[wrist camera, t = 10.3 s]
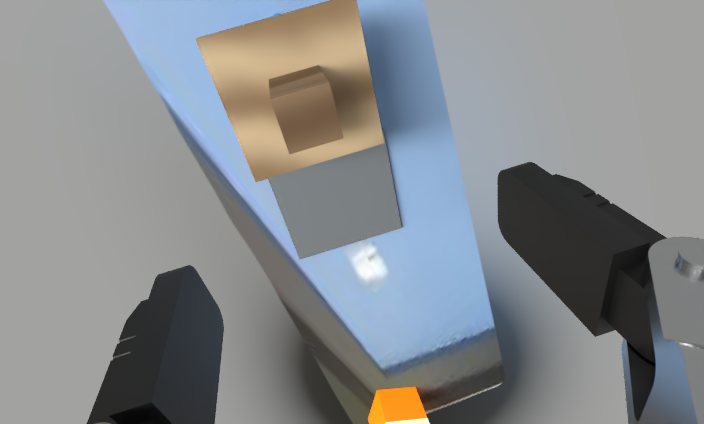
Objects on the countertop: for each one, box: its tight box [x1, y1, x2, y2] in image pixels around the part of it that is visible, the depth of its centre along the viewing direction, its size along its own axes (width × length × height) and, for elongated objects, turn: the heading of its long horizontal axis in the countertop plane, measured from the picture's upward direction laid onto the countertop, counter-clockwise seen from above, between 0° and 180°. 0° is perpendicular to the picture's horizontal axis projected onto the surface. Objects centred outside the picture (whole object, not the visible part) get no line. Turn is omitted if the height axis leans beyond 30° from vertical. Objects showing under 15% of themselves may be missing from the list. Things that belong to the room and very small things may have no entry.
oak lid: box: [196, 0, 384, 182], centre depth 29 cm, size 12×12×7 cm
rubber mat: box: [268, 128, 402, 259], centre depth 46 cm, size 14×14×1 cm
